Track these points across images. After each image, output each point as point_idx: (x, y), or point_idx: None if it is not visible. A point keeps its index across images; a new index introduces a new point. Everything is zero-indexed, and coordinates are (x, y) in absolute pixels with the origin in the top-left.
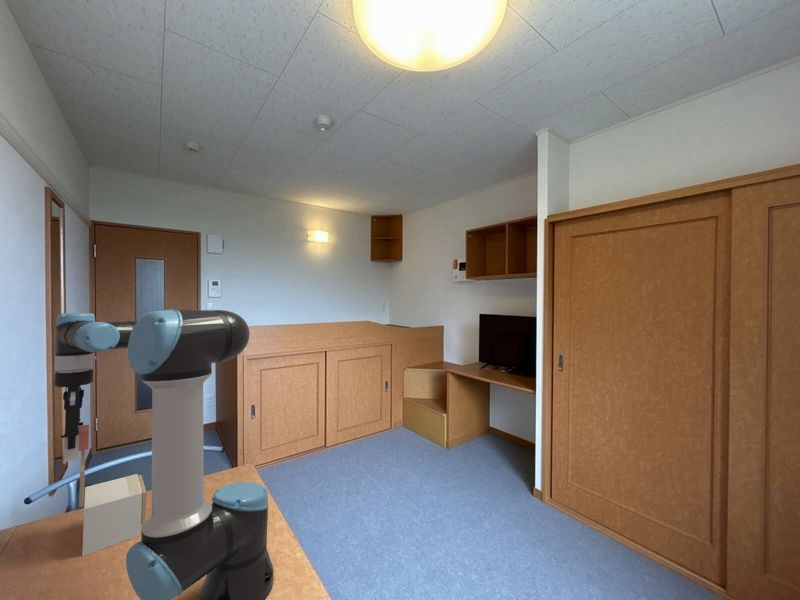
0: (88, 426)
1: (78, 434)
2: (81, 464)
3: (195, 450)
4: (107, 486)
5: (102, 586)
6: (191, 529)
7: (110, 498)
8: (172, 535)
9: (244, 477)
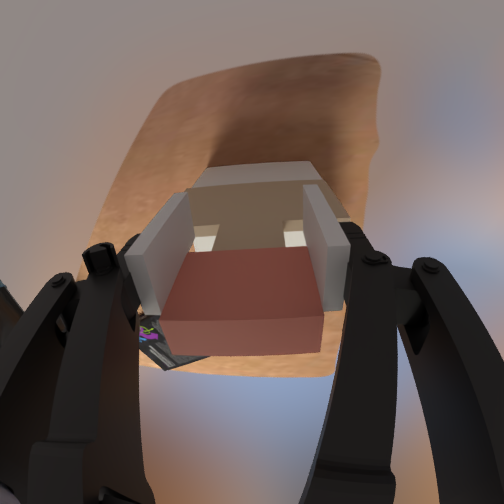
0: (268, 353)
1: (149, 312)
2: (219, 229)
3: None
4: (292, 233)
5: (115, 203)
6: None
7: (211, 241)
8: None
9: (307, 369)
